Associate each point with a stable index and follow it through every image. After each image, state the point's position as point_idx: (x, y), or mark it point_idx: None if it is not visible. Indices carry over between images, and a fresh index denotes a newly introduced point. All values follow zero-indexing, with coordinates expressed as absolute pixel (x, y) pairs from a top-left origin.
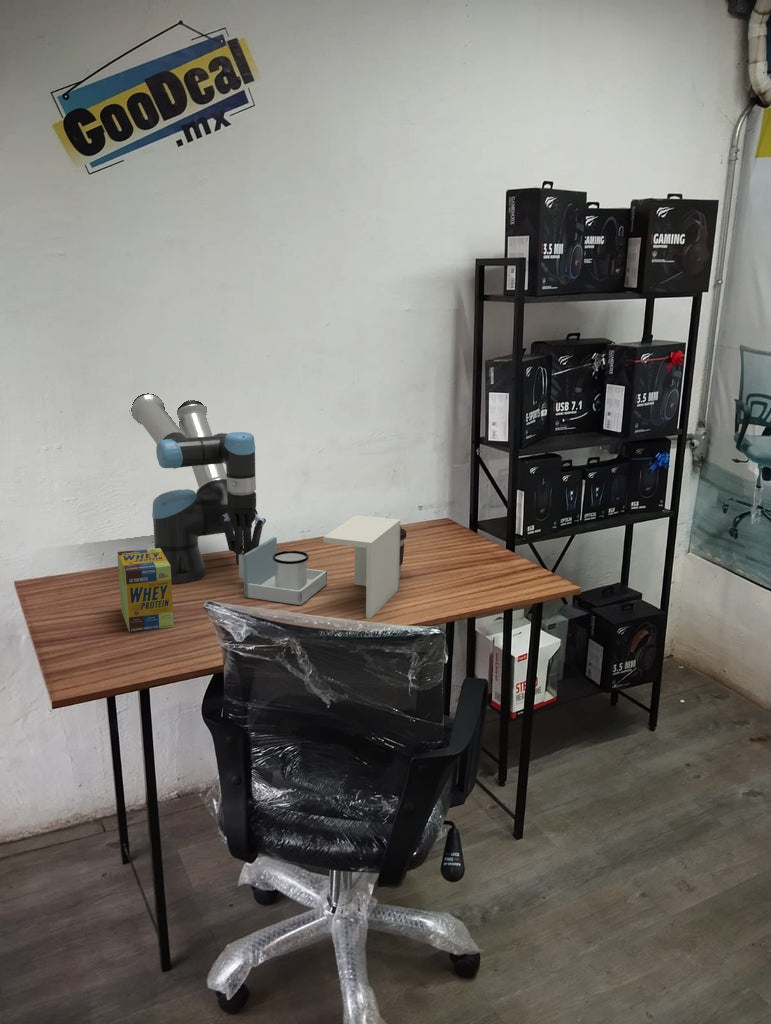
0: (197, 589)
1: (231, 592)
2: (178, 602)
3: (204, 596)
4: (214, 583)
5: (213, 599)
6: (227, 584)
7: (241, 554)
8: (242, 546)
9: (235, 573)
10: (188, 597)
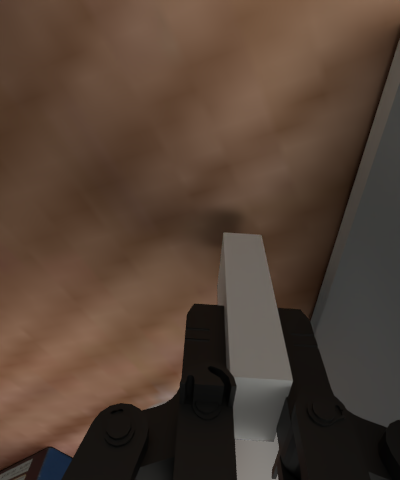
0: (46, 328)
1: None
2: (78, 425)
3: (127, 375)
4: (63, 248)
5: (178, 388)
6: (137, 243)
7: (241, 425)
8: (233, 465)
9: (60, 31)
10: (77, 392)
